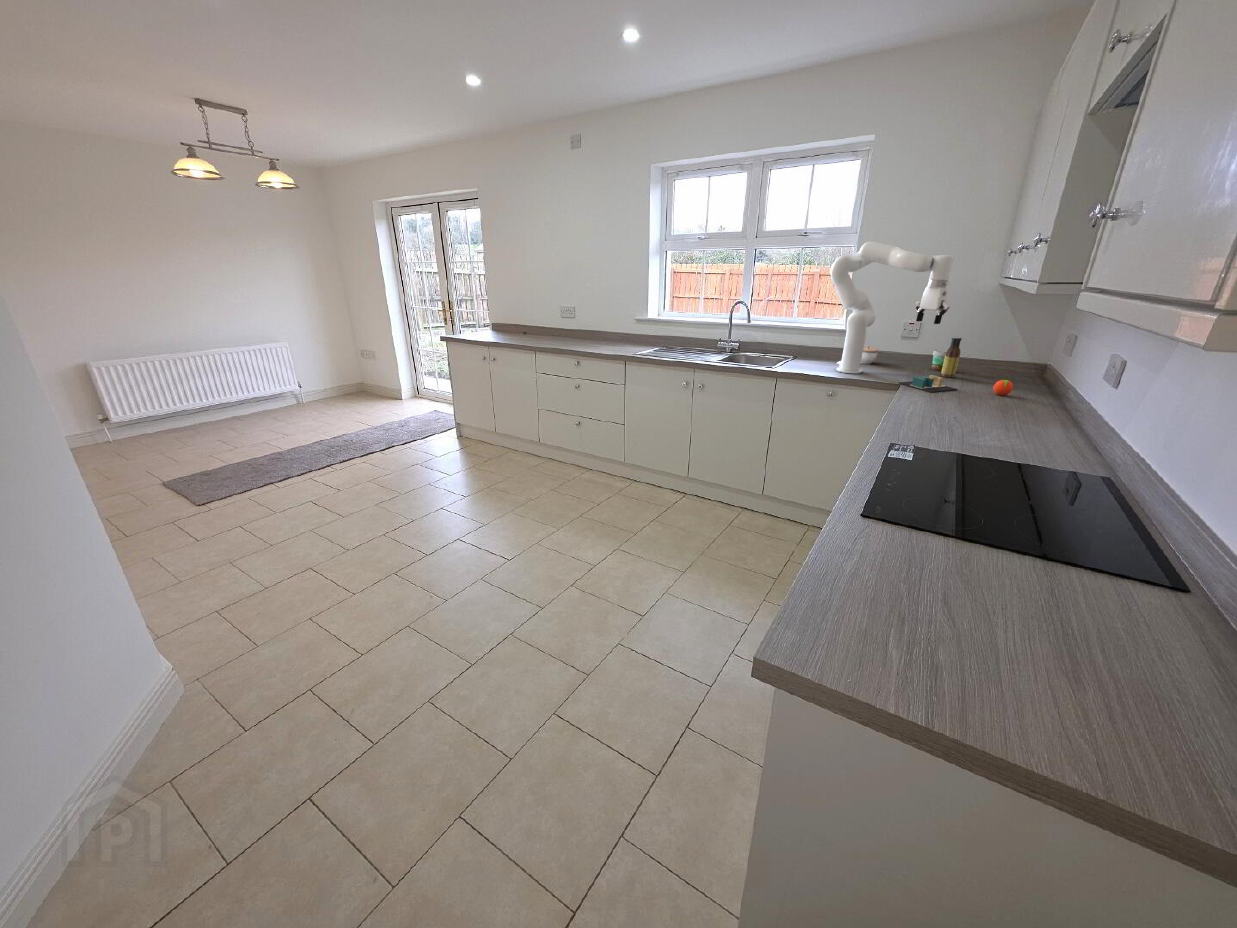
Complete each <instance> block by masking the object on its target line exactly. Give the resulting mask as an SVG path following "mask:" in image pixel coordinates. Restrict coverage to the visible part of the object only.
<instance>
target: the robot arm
mask: <svg viewBox="0 0 1237 928" xmlns="http://www.w3.org/2000/svg"><path fill="white" fill-rule="evenodd" d="M954 259H955V258H954V256H953V255H952V254H937V255H936V254H930V253H929V254H928V253H917V252H913V251H908V250H906V249H905V250H904V249H902V248H901V247H899V246H896V245H891V244H887V243H882V242H880V241H871V240H870V241H866V242H865V243H863V244H862V245H861V247H860V249H859V251H857V252H855V253H853V254H842V255H840V256H838V257H837V258H836V259H835V261H834V262H833V263H832V265H831V267H830V279H831V282H832V284H833V287H834V289H835V291H836V294H837V296H838V298H839V300H840V303H841V306H842V307H843V308H844V309H845V310H848V311H852V313H850V314H849V316H848V317H847V321H846V332H845V339H844V345H843V350H842V356H841V360H839V361H837V362H836V365H838V367H836V371H837V372H839V373H843V374H851V375H852V374H853V375H854V374H855V375H856V374H862V373H863V369H861V368H860V367H861V364H862V363H861V358H862V353H863V349H864V348H865V344H866V338H867V328H869V327H871V326H872V325H873V324H874V323H875V321H876V312H875V310H874V307H873V305H872V302H871V300H870V298H869V296H868V294H867V293H866V292H865V291H864V290H860V289H857V288H856V285H855V283H854V281H853V279H852V277H851V276H850V273H854V272H857V271H859V270H861V269H863V268H865V267H867V266H868V265H871V264H872V263H878V264H881V265H885V266H889V267H894V268H898V269H901V270H906V271H910V272H915V273H925V272H926V273H927V272H930V274H929V278H928V283H927V285H926V287H925V289H924V291H923V293H922V297H921V299H920V300H918V301H916V302H915V309H916V313H917V314H916V319H915V322H916V323H917V322H923V319H924V317H925V311H926V310H928V311H935V312H936V314H935V318H934V320H933V325H940V324H941V321H942V318H943V316H944V315H945V314H946V313H947V312H948V310H949V309H950V308H951V306H950V305H949V303H947V301H948V295H949V294H948V293H949V287H947V286H949V284H950V282H949V280H950V279H949V278H950V275H951V271H952V268H953V267H952V266H953V263H954Z"/></svg>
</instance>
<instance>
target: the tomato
mask: <svg viewBox="0 0 1237 928" xmlns="http://www.w3.org/2000/svg"><path fill="white" fill-rule="evenodd" d="M992 389H993V392H994V394H996V395H998V396H1007V395H1009V394H1011V393H1012V391H1013V389H1014V385H1013V382H1011V381H1010V380H1008V379H1000V380H998V381H995V383H994V385H993V388H992Z"/></svg>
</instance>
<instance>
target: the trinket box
mask: <svg viewBox="0 0 1237 928" xmlns="http://www.w3.org/2000/svg"><path fill="white" fill-rule="evenodd" d="M878 353H879V349H877V348H874V347H870V345H868V346H867V347H864V349H863V353H862V358H861V363H860V364H867V365H870V364H872V363H873V362H874V361H875V360H876V359H877V357H878Z"/></svg>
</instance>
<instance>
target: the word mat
mask: <svg viewBox="0 0 1237 928" xmlns="http://www.w3.org/2000/svg"><path fill="white" fill-rule="evenodd" d="M898 384H899V385H903V386H906V387H910V388H913V389H916V390H920V391H924V392H927V393H932V394H933V393H942V392H951V391H958V388H955V387H951V386H948V385H943V384H942V386H935V385H932V387H926V386H925V387H924V388H920V387H916V386H913V385H911V384H912V380H909V381H900V382H898Z"/></svg>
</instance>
